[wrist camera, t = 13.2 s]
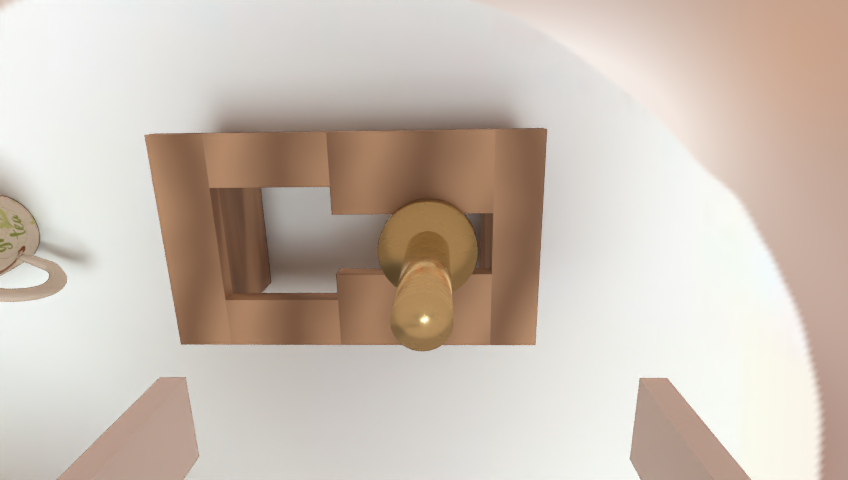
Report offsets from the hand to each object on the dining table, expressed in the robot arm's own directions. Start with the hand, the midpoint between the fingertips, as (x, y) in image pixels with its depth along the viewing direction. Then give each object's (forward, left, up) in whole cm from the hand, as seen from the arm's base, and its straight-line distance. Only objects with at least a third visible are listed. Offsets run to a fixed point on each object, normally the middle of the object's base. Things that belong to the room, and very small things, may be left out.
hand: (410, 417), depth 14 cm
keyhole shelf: (-5, 0, -26) cm, 26 cm away
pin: (0, 0, -22) cm, 22 cm away
